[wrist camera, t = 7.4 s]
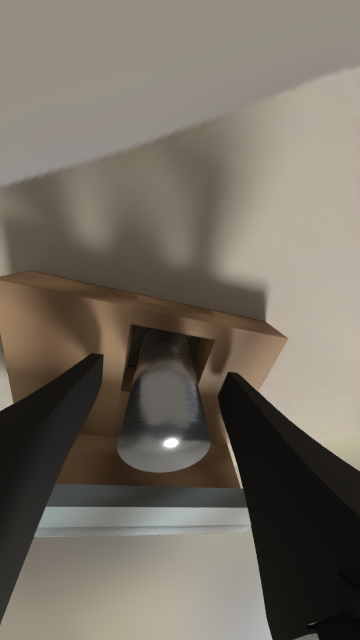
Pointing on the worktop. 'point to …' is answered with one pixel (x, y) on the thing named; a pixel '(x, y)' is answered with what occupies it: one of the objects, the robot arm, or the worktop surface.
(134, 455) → the peg
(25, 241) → the worktop surface
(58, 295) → the socket board
